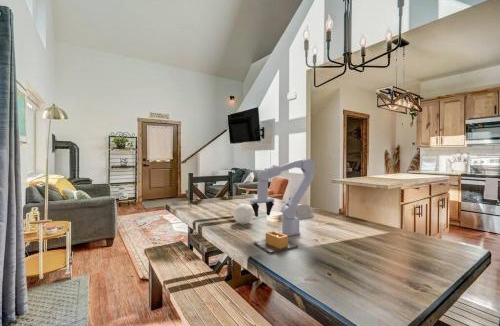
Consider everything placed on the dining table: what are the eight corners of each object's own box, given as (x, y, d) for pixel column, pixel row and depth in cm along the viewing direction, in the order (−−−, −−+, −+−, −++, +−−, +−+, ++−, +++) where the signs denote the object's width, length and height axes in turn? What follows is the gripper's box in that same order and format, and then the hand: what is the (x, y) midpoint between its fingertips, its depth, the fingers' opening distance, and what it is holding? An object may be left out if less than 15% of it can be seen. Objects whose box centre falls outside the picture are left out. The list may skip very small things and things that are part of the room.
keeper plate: (280, 238, 134) (280, 228, 134) (298, 247, 121) (298, 236, 121) (253, 243, 127) (253, 233, 126) (269, 254, 113) (269, 242, 113)
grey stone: (295, 220, 171) (292, 205, 174) (291, 220, 175) (288, 206, 178) (314, 216, 179) (310, 202, 182) (309, 217, 183) (306, 204, 186)
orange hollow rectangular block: (273, 240, 128) (273, 230, 128) (287, 246, 120) (287, 235, 120) (265, 242, 125) (265, 232, 125) (279, 248, 117) (279, 238, 117)
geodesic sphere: (229, 218, 155) (242, 200, 156) (226, 213, 168) (238, 196, 170) (247, 231, 158) (260, 212, 159) (243, 225, 171) (254, 208, 173)
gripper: (269, 190, 148) (269, 213, 149) (247, 191, 141) (247, 215, 142) (276, 191, 142) (276, 215, 142) (253, 193, 135) (253, 218, 136)
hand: (262, 215), depth 142 cm, fingers open, 7 cm apart
